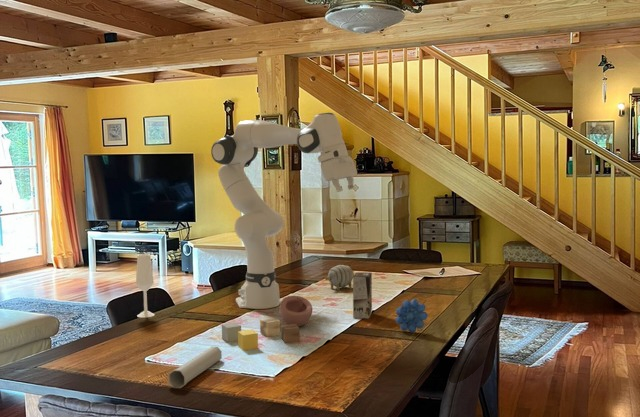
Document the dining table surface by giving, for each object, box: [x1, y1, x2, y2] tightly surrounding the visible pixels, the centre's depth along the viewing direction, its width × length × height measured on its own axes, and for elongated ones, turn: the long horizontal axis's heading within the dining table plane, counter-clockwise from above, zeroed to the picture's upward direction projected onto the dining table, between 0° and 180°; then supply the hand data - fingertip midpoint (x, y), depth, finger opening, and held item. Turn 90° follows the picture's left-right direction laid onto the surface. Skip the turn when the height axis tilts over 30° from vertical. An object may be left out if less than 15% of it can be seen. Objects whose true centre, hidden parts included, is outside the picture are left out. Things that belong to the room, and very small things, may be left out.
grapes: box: [395, 298, 429, 334], centre depth 221 cm, size 12×7×12 cm, turn 62°
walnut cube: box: [280, 324, 301, 345], centre depth 212 cm, size 5×5×5 cm
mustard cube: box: [237, 329, 259, 351], centre depth 206 cm, size 5×5×5 cm
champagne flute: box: [135, 253, 155, 318], centre depth 248 cm, size 7×7×24 cm
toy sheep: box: [324, 264, 355, 291], centre depth 294 cm, size 11×17×11 cm, turn 134°
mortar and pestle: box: [278, 295, 313, 327], centre depth 230 cm, size 12×12×11 cm
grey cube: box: [221, 322, 242, 343], centre depth 215 cm, size 5×5×5 cm
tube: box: [167, 346, 222, 389], centre depth 182 cm, size 5×5×25 cm
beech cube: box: [259, 317, 281, 338], centre depth 221 cm, size 5×5×5 cm
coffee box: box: [352, 272, 373, 319], centre depth 244 cm, size 9×6×16 cm
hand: (345, 190), depth 235 cm, fingers open, 8 cm apart
